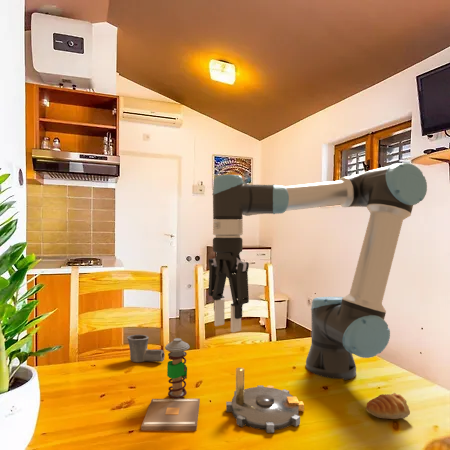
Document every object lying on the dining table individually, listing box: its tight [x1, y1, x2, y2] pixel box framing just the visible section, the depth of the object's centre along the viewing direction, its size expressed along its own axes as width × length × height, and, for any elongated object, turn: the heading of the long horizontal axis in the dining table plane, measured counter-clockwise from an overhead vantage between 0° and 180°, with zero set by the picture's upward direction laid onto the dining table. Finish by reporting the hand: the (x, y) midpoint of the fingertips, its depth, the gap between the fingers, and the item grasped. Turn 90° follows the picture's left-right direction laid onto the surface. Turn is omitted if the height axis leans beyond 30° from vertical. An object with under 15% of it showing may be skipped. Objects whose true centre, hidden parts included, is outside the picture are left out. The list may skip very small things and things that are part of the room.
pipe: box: [126, 334, 166, 363], centre depth 114 cm, size 6×13×8 cm, turn 78°
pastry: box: [365, 392, 411, 420], centre depth 83 cm, size 9×7×4 cm
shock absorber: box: [164, 337, 190, 399], centre depth 91 cm, size 6×6×15 cm
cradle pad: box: [140, 398, 201, 432], centre depth 82 cm, size 12×12×1 cm
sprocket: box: [225, 367, 305, 434], centre depth 84 cm, size 19×19×10 cm
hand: (227, 327), depth 88 cm, fingers open, 6 cm apart
